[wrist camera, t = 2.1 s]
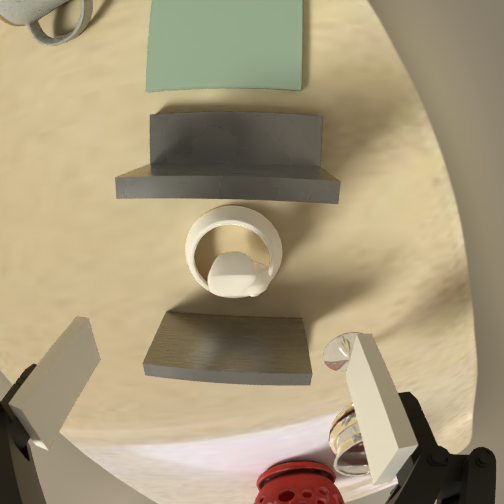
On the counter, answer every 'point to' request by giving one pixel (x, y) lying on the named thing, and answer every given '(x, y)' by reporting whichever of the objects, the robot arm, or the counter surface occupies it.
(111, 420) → the counter surface
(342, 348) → the wineglass
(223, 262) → the white curved piece
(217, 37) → the mat
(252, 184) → the dark grey bookends
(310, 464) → the plant pot
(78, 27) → the ceramic mug
